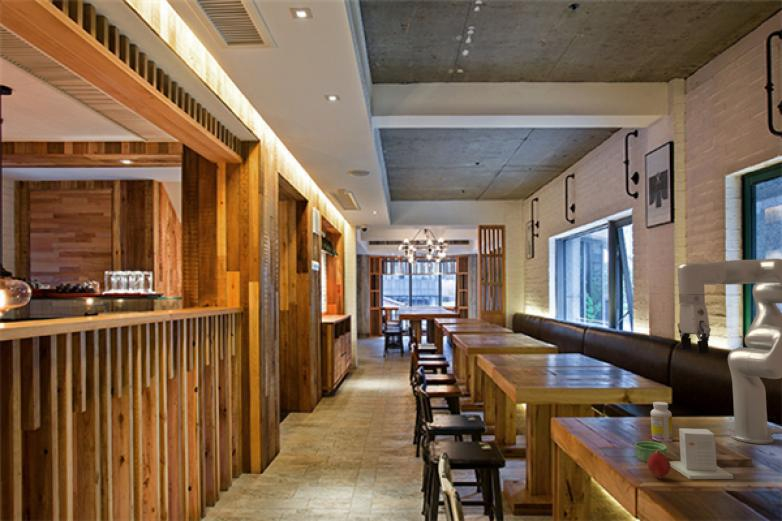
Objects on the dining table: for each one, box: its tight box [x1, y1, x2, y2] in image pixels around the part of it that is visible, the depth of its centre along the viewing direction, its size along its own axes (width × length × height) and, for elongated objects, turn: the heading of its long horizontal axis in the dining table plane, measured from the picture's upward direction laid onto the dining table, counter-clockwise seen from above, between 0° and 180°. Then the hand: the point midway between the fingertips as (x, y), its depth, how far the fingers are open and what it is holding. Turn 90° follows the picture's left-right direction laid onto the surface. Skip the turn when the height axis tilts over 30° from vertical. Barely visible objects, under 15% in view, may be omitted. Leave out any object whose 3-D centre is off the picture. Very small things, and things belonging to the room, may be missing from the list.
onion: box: [646, 450, 672, 479], centre depth 146 cm, size 6×6×8 cm
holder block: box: [660, 441, 753, 467], centre depth 164 cm, size 18×18×2 cm
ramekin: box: [634, 440, 667, 463], centre depth 162 cm, size 9×9×4 cm
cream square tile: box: [669, 460, 734, 480], centre depth 151 cm, size 12×12×1 cm
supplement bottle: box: [650, 401, 674, 443], centre depth 182 cm, size 7×7×13 cm
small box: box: [678, 428, 717, 471], centre depth 151 cm, size 8×6×10 cm
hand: (694, 351), depth 173 cm, fingers open, 9 cm apart
